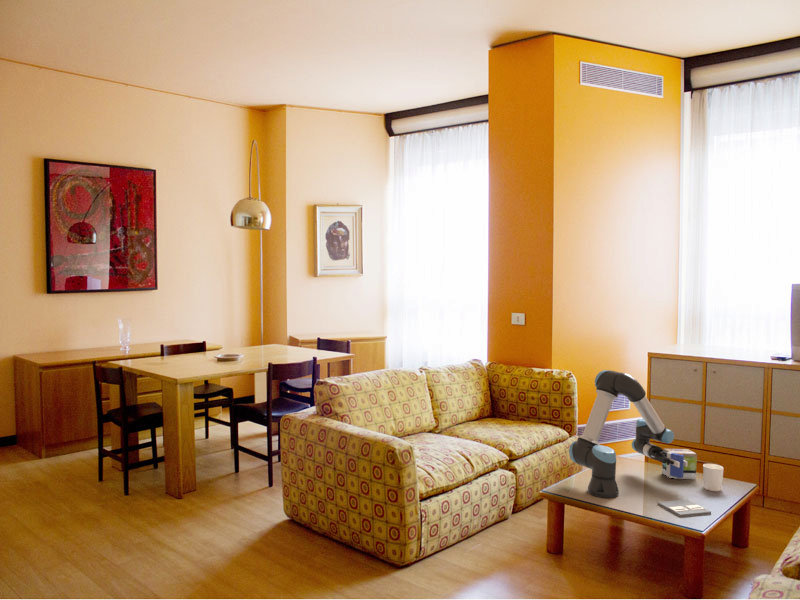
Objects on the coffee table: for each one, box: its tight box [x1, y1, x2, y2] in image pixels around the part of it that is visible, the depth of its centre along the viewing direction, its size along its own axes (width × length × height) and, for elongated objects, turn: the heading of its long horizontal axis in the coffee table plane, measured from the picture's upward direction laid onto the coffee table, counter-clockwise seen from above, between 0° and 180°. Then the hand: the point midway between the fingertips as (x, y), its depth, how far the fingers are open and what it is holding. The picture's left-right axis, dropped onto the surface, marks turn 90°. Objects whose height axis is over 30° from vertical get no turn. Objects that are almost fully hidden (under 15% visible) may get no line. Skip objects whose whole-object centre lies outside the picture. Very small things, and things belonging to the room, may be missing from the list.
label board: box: [657, 499, 712, 518], centre depth 293 cm, size 17×16×2 cm
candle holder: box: [702, 463, 724, 492], centre depth 323 cm, size 10×10×12 cm
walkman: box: [666, 452, 684, 478], centre depth 319 cm, size 8×3×12 cm, turn 46°
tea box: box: [661, 448, 698, 480], centre depth 342 cm, size 15×10×15 cm, turn 91°
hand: (682, 464), depth 314 cm, fingers open, 4 cm apart
